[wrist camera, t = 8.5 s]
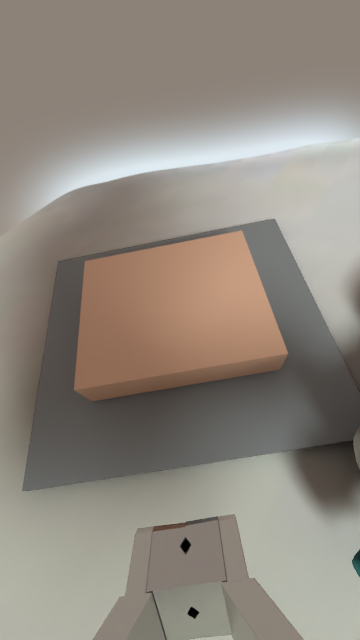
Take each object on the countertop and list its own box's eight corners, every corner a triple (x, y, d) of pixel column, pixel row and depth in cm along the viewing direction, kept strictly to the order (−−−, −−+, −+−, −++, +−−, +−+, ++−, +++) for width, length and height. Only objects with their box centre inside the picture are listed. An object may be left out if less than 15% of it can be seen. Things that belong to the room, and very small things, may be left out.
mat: (28, 490, 16) (22, 491, 15) (61, 265, 25) (58, 261, 25) (375, 437, 15) (380, 435, 14) (273, 224, 24) (274, 218, 24)
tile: (74, 390, 15) (84, 261, 20) (93, 402, 17) (98, 283, 22) (288, 353, 14) (241, 230, 20) (279, 370, 17) (239, 256, 22)
